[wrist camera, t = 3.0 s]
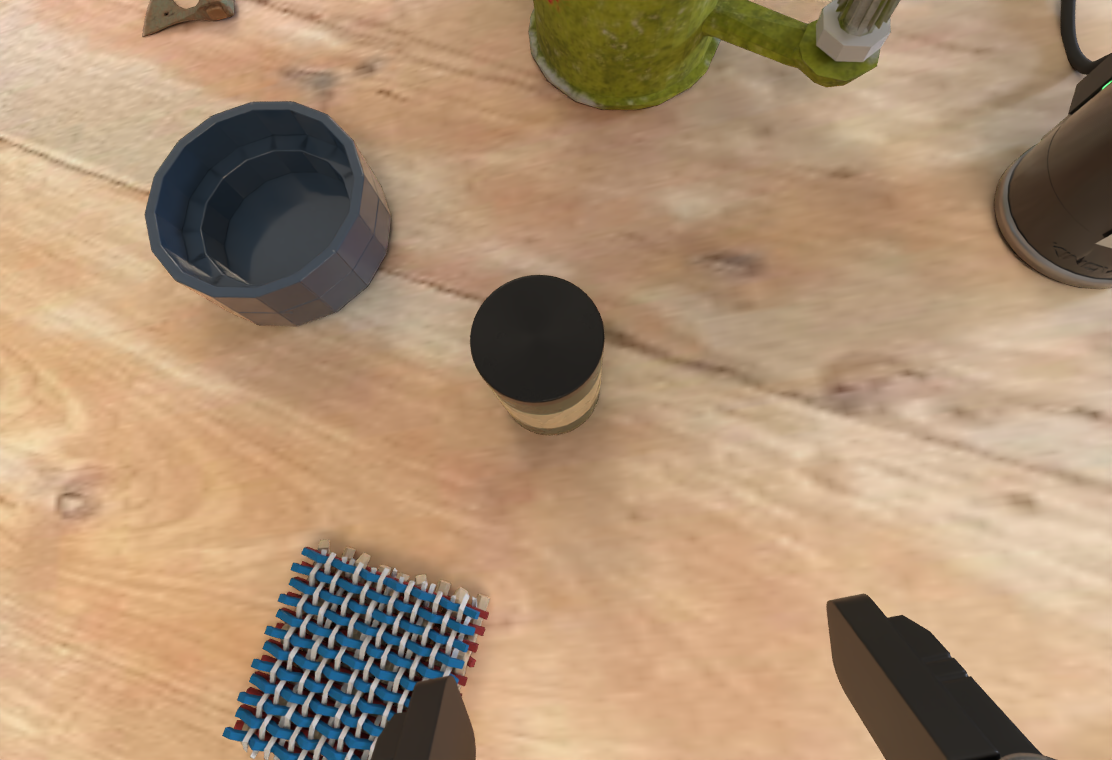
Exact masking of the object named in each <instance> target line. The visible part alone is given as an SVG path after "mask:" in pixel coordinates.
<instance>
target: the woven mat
mask: <svg viewBox="0 0 1112 760" xmlns="http://www.w3.org/2000/svg"><path fill="white" fill-rule="evenodd" d="M355 551H356V549H354V548H351V547H347V546H346V547H345V550H344V552H343V554H342V557H341V558H338V557H335V556H336V554H335V553H333V552H332V553H331V555H330V545H329V540H320V542H319V545H318V550H315V549H312V548H310V547H305V548H304V549H303V551H302V553H301V554H302V555H304V556H306V557H308V558H310V559H312V560H313V561H314V564H313V565H310V564H308V563H306V562H304V561H302V564H301V565H300V564H298V563H293V565H292V567H291V570H292V571H295V572H298V573H301V574H305V575H308V578H307V580H305V579H303V578H300V577H294V578H292V579H291V580H290V583H289V585H290V586H292V587H294V588H296V589H297V590H299V591H301V592H302V593H301V595H298V594H295V593H292V592H288V593H287V595H286V594H280V596H279V599H278V602H281V603H284V604H287V605H291V606H295V607H296V608H295V611H292V610H289V609H287V608H281V609H279V610H278V612H277V614H276V617H278V618H280V619H281V620H283V621H284V622H286V623H285V624H283V623H277V625H276V628H274V627H272V626H267V628H266V631H265V633H264V634H267V635H269V636H272V637H276V638H280V639H281V641H280V642H278V641H275V640H273V639H269V640H268V641H266V642H265V644H264V646H263V649H264V650H266V651H268V652H269V653H270V654H272V655H273V656H274V657H276V658H272V657H270V656H267V655H263V656H262V658H261V660H259V659H254V660H253V662H252V665H251V667H253V668H255V669H258V670H262V671H266V672H270V673H269V675H268V674H265V673H263V672H260V671H257V672H255V674H254V673H253V674H252V676H251V678H250V680H249V682H250V683H252V684H254V685H256V686H257V687H258V688H259V689H260V690H261V691H260V690H258V689H255V688H252V687H250V688H248V689H247V691H246V692H240V694H239V696H238V699H237V700H238V701H240V702H242V703H245V704H243V705H241V706H240V707H239V708H238V710H237V712H236V715H235V717H238V718H240V719H241V720H237V722H236V724H235V726H234V729H233V728H231V727H226V728H225V730H224V733H223V735H222V736H224V737H226V738H228V739H231V740H236V741H240V742H241V744H242V745H243V749H244V750H245V751H246V752H247V749H248V746H250V748H251V749H252V750H253V752H252V754H251V756H250V757H251V758H255V757H256V755H257V754H258V752H259V751H264V759H265V760H268V759H269V754H270V752H273V753H274V754H275V756H274V759H273V760H278V759H280V760H370V759H371V756H372V753H373V750H374V747H375V744H376V741H377V738H378V737H379V735H380V734H381V732H382V731H383V729H384V728H385V727H386V725H387V724H388V722H389V721H390V719H391V718H392V717H393V715H394V714H397V713H402V712H407V708H408V706H409V702H410V699H411V696H412V692H413V689H414V686H415V684H416V683H417V682H419V681H424V680H429V679H434V678H439V677H444V676H449V675H451V676H453V677H454V679H455V681H456V683H457V686H458V689H459V690H460V687H461V685H462V686H465V684H466V682H467V677H465V676H464V675H465V672H466V666H469V667H474V665H475V662H476V660H475V659H473V658H472V657H471V656H470V655H471V653H472V652H476V651H477V648H478V645H479V644H477V643H475V642H476V639H477V636H478V635H481V636H483V634H484V632H485V628H484V627H482V626H481V624H482V621H483V619H487V618H488V615H489V612H486V609H487V606H488V603H489V600H490V598H489V597H487V596H486V595H481V594H478V596H477V599H476V598H474V597H473V598H472V605H470V604H468V603H467V601H468V599H469V596H470V595H468V591H466V590H465V589H463V588H461V587H460V588H458V589H457V590H456V591H455V593H454V595H453V596H451V597H450V596H447V594H448V591H449V589H450V586H451V583H449V582H447V581H443V580H439V581H438V584H437V587H436V585H435V584H433V583H431V585H430V588H429V590H427V587H428V583H427V579H426V574H423V575H417V576H416V578H415V582H414V581H411V580H410V582H409V583H408V582H407V581H408V579H409V577H410V576H408V575H406V574H403V573H400V572H398V571H397V570H396V569H395V568H394V570H393V572H392V575H391V576H389V575H390V572H391V569H392V568H391V567H388V566H386V565H380V566H379V569H378V571H376V569H377V568H373V567H372V568H370V567H368V566H367V565H368V563H369V560H370V558H371V556H370V555H368V554H366V553H363V554H362V555H361V556H360V557H359V558H358V559H357V560H356V562H355V559H353V556H354V553H355ZM331 566H333V567H335V568H336V570H335V572H334V573H332V572H330V569H331ZM397 572H398V574H397ZM365 580H367V582H366V584H365V585H364V582H365ZM372 582H373V584H372ZM325 583H329V586H328V588H326V587H323V586H324V585H325ZM371 584H372V586H371V587H370V585H371ZM385 585H386V586H387V587H386V589H385V590H384V588H385ZM435 587H436V589H435ZM434 589H435V592H434ZM345 590H346V591H347V593H346V595H344V594H343V592H344V591H345ZM401 593H405V594H404V597H403V596H402V595H401ZM410 594H411V597H410ZM359 595H360V600H358V598H359ZM365 596H367V599H366V602H365ZM318 597H320V598H319V600H318ZM409 597H410V600H409ZM423 600H425V602H424V605H423V606H422V605H421V604H422V601H423ZM429 602H431V603H430V606H429ZM378 603H380V605H379V607H377V606H378ZM338 605H342V606H341V609H338V608H337V607H338ZM428 607H429V608H428ZM443 607H444V608H446V609H447V612H446V614H445V613H442V612H441V611H442V608H443ZM398 610H399V611H400V612H399V614H397V611H398ZM353 611H354V612H355V613H354V615H352V614H353ZM404 612H405V614H404ZM307 614H308V615H307ZM403 614H404V616H403ZM463 614H465V615H467V617H466V619H465V621H464V620H461V619H462V615H463ZM313 615H314V619H313V618H311V617H312V616H313ZM359 615H360V617H359ZM418 615H419V618H418V620H416V618H417V616H418ZM373 618H374V621H373V623H372V619H373ZM332 622H334V623H335V624H334V626H331V623H332ZM435 623H437V624H442V625H441V629H440V628H438V627H436V626H435V625H434V624H435ZM378 624H379V625H378ZM392 625H393V630H391V627H392ZM398 626H399V630H398ZM347 627H348V630H347ZM306 629H307V630H309V631H310V634H307V633H306ZM457 632H459V633H460V634H459V637H458V636H456V634H457ZM411 633H413V635H412V637H410V635H411ZM373 636H374V638H373V640H371V639H372V637H373ZM325 637H327V638H329V640H328V642H325V641H323V639H324V638H325ZM431 640H433V641H434V642H436V644H435V646H433V645H430V642H431ZM386 643H387V644H388V646H385V644H386ZM340 645H342V647H340ZM294 646H295V647H294ZM392 646H393V647H392ZM300 647H302V648H304V649H303V651H302V650H299V648H300ZM391 647H392V648H391ZM452 647H454V650H453V651H451V649H452ZM406 648H408V649H407V652H406V654H405V650H406ZM365 652H366V653H367V654H368V655H367V657H365ZM412 652H413V653H412ZM317 653H318V654H317ZM319 654H320V655H319ZM411 655H412V656H411ZM425 656H426V657H430V658H429V663H428V662H426V661H424V659H425ZM334 659H335V660H334ZM380 659H381V661H379V660H380ZM341 661H342V664H341V665H340V663H341ZM293 662H294V663H296V664H297V667H295V666H292V663H293ZM406 668H407V670H406V671H405V669H406ZM311 670H314V674H313V673H310V671H311ZM359 670H362V671H361V673H359ZM451 670H452V671H451ZM419 673H420V674H421V675H422V676H423V679H422V678H420V677H418V676H419ZM374 676H375V677H376V678H375V679H374V678H373V677H374ZM328 679H329V680H328ZM286 681H291V682H290V683H288V682H286ZM334 681H335V682H334ZM393 684H394V685H393ZM399 684H400V685H401V687H400V689H399V688H398V686H399ZM353 686H354V687H353ZM303 687H306V688H307V689H308V690H309V691H308V690H306V689H303ZM322 693H323V695H322ZM374 694H375V696H374ZM460 694H461V693H460ZM321 695H322V696H321ZM328 695H329V699H328ZM461 697H462V694H461ZM393 702H395V704H394V706H393ZM341 703H342V704H341ZM246 704H249V705H253V706H256V708H253V707H251V706H248V705H246ZM347 704H348V706H346V705H347ZM302 705H303V706H302ZM368 713H369V714H368ZM273 715H275V716H273ZM291 721H292V722H293V723H294V724H293V723H291ZM340 721H342V723H343V724H342V723H340ZM309 727H310V728H309ZM356 727H357V729H355V728H356ZM361 729H363V730H362V732H361ZM266 730H267V731H268V732H269V733H268V732H267V731H266ZM375 736H376V737H375ZM336 739H337V740H336ZM286 740H289V742H287V741H286ZM321 755H323V756H321Z"/></svg>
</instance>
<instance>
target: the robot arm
mask: <svg viewBox="0 0 1112 760" xmlns="http://www.w3.org/2000/svg"><path fill="white" fill-rule="evenodd" d="M1075 3H1076V0H1061V36H1062V40H1063V43H1064V47H1065V50H1066V54H1067V57H1068V60H1069V62H1070V63H1071V65H1072V67H1073V68H1074V69H1075V70H1077V71H1078V72H1080V73H1082V74H1086V75H1087V76H1086V77H1085V78H1084V79H1083V80H1082V81H1080V82H1079V83H1078V84H1077V86H1076V89H1075V93H1074V96H1073V100H1072V103H1071V106H1070V110H1069V113H1068V114H1069V115H1068V116H1067V117H1066V118H1065V119H1063V120H1062V121H1061V122H1060V123H1059V124H1058V125H1056V126H1055V127H1054V128H1053V129H1052V130H1051V131H1049V132H1048V133H1047V134H1046V135H1045V136H1044V137H1043V138H1042V139H1041V142H1040V143H1038V144H1037V145H1035V146H1033V147H1032V148H1030V149H1029V150H1027V151H1026V152H1025V153H1024V154H1023V155H1021V156H1020V157H1019V158H1018V159H1017V160H1016V161H1014V162H1013V163H1012V164H1011V165H1010V166H1009V167H1008V168H1007V169H1006V171H1005V172H1004V174H1003V175H1002V177H1001V179H1000V181H999V183H998V186H997V189H996V193H995V214H996V218H997V222H998V225H999V228H1000V230H1001V232H1002V234H1003V236H1004V238H1005V239H1006V241H1007V242H1008V244H1009V245H1010V247H1011V248H1012V249H1013V250H1014V251H1015V253H1016V254H1017V255H1018V256H1019V257H1020V258H1021V259H1022V260H1023V261H1025V262H1026V263H1027V264H1028V265H1030V266H1031V267H1032V268H1034V269H1035V270H1037V271H1038V272H1040V273H1042V274H1044V275H1045V276H1047V277H1049V278H1052V279H1054V280H1056V281H1059V282H1062V283H1065V284H1068V285H1072V286H1077V287H1083V288H1095V289H1097V288H1111V287H1112V53H1110V54H1108V55H1106V56H1104V57H1103V58H1101V59H1099V60H1097V61H1094V62H1092V61H1090V60H1089V59H1087V58H1086V57H1085V56H1084V55H1083V53H1082V52H1081V50H1080V48H1079V45H1078V42H1077V38H1076V31H1075ZM826 607H827V617H828V626H829V634H830V643H831V651H832V659H833V664H834V668H835V671H836V674H837V677H838V679H839V682H840V684H841V686H842V688H843V690H844V692H845V694H846V695H847V697H848V699H849V700H850V702H851V704H852V705H853V707H854V708H855V710H856V712H857V713H858V715H859V717H860V718H861V720H862V721H863V723H864V725H865V726H866V728H867V730H868V731H869V733H870V735H871V736H872V738H873V739H874V741H875V743H876V744H877V746H878V748H879V749H880V751H881V752H882V754H883V756H884V757H885V759H886V760H1056V759H1053V758H1050V757H1047V756H1044V755H1042V754H1041V753H1040V752H1039V751H1038V750H1037V749H1036V748H1035V747H1034V745H1033V744H1032V743H1031V742H1030V741H1029V740H1028V739H1027V738H1026V737H1025V736H1024V734H1023V733H1022V732H1021V731H1020V730H1019V729H1018V728H1017V727H1016V726H1015V725H1014V723H1013V722H1012V721H1011V720H1010V719H1009V718H1008V717H1007V716H1006V715H1005V714H1004V712H1003V711H1002V710H1001V709H1000V708H999V707H998V706H997V705H996V704H995V703H994V701H993V700H992V699H991V698H990V697H989V696H988V695H987V694H986V693H985V692H984V690H983V689H982V688H981V687H980V686H979V685H978V684H977V683H976V682H975V681H974V679H973V678H972V677H971V676H970V677H969V676H968V675H967V672H966V671H965V670H964V668H963V667H962V666H961V665H960V664H959V663H958V662H957V661H956V660H955V659H954V658H952V657H951V656H950V653H949V652H948V651H947V650H946V649H945V647H944V646H943V645H942V644H941V643H940V642H939V641H938V640H937V639H936V638H935V636H934V635H933V634H932V633H931V632H930V631H928V630H927V629H925V628H923V627H922V626H920V625H918V624H917V623H915V622H913V621H912V620H910V619H908V618H907V617H905V616H903V615H900V616H895V617H889V618H887V617H886V616H885V615H884V613H883V612H882V611H881V610H880V609H879V607H878V606H877V605H876V604H875V603H874V601H873V600H872V599H871V598H870V597H869V596H868V595H866V594H860V595H855V596H850V597H845V598H840V599H835V600H830V601H828V602H827V606H826ZM370 760H476V746H475V737H474V732H473V728H472V725H471V722H470V719H469V716H468V714H467V711H466V708H465V705H464V703H463V700H462V697H461V694H460V691H459V689H458V686H457V683H456V681H455V679H454V677H453V676H451V675H449V676H444V677H439V678H434V679H429V680H424V681H419V682H417V683H416V684H415V686H414V689H413V692H412V696H411V699H410V702H409V706H408V709H407V712H402V713H397V714H394V715H393V717H392V718H391V719H390V721H389V722H388V724H387V725H386V727H385V728H384V729H383V731H382V732H381V734H380V735H379V737H378V738H377V741H376V744H375V747H374V750H373V753H372V756H371V759H370Z"/></svg>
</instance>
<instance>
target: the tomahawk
mask: <svg viewBox="0 0 1112 760" xmlns="http://www.w3.org/2000/svg"><path fill="white" fill-rule="evenodd" d="M166 13H168V15H167V16H165V14H166ZM233 15H234V0H199V2H198V4H197V5H196V6H195V7H192V8H189V9H184V8H181V7H178V6H177V5H176V4H175V3H174V1H173V0H150V2H149V5H148V8H147V12H146V16H145V21H144V27H143V35H142V37H143V36H147V35H150V34H153V33H155V32H157V31H160V30H162V29H164V28H166V27H168V26H171V25H174V24H177V23H180V22H184V21H190V20H199V19H203V20H211V21H216V20H221V19H224V18H227V17H231V16H233Z"/></svg>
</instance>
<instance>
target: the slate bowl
mask: <svg viewBox="0 0 1112 760" xmlns="http://www.w3.org/2000/svg"><path fill="white" fill-rule="evenodd" d="M145 219H146V224H147V230H148V235H149V240H150V245H151V250H152V252H153V253H154V255H155V256H156V257H157V258H158V260H159V261H160V262H161V263H162V265H163V266H164V267H165V268H166V270H167V271H168V272H169V273H170V275H171V276H172V277H173V278H174V280H176V281H177V282H179V283H180V284H182V285H184V286H185V287H187V288H189V289H190V290H192V291H194V292H196V293H197V294H199V295H201V296H202V297H204V298H206V299H207V300H209V301H211V302H213V303H214V304H216V305H218V306H219V307H221V308H223V309H224V310H226V311H228V312H230V313H233V314H235V315H237V316H239V317H241V318H243V319H246V320H248V321H250V322H252V323H254V324H257V325H265V326H300V325H302V324H305V323H308V322H311V321H313V320H316V319H319V318H322V317H324V316H327V315H330V314H333V313H335V312H337V311H339V310H340V309H341V308H342V307H343V306H345V305H346V304H347V303H348V302H349V301H351V300H352V299H353V298H354V297H355V296H357V295H358V294H359V293H360V292H361V291H363V290H364V289H365V288H366V287H367V286H368V285H369V283H370V282H371V280H372V278H373V276H374V275H375V273H376V271H377V269H378V268H379V266H380V264H381V262H382V261H383V259H384V257H385V255H386V254H387V247H388V239H389V231H390V224H391V214H390V211H389V208H388V205H387V202H386V199H385V196H384V193H383V189H382V186H381V185H380V183H379V181H378V180H377V178H376V177H375V175H374V173H373V172H372V170H371V168H370V167H369V165H368V164H367V162H366V160H365V159H364V157H363V155H362V154H361V152H360V151H359V149H358V147H357V146H356V144H355V142H354V141H353V139H352V138H351V137H350V136H349V135H348V134H347V133H346V132H345V131H344V130H343V129H342V128H341V127H340V126H339V125H338V124H337V123H336V122H335V121H334V120H333V119H332V118H331V117H330V116H329V115H327V114H325V113H322V112H320V111H317V110H314V109H312V108H309V107H306V106H304V105H301V104H298V103H296V102H292V101H282V102H250V103H247V104H244V105H241V106H238V107H235V108H232V109H230V110H227V111H224V112H221V113H218V114H215V115H213V116H211V117H210V118H208V119H207V120H206V121H204V122H203V123H201V124H200V125H199V126H197V127H196V128H195V129H193V130H192V131H191V132H189V133H188V134H187V135H185V136H184V137H183V138H181V139H180V140H179V141H178V142H177V143H176V145H175V146H174V148H173V149H172V151H171V152H170V154H169V155H168V156H167V158H166V159H165V161H164V162H163V164H162V165H161V166H160V168H159V169H158V171H157V172H156V174H155V176H154V178H153V182H152V186H151V190H150V194H149V198H148V202H147V206H146V210H145Z"/></svg>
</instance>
